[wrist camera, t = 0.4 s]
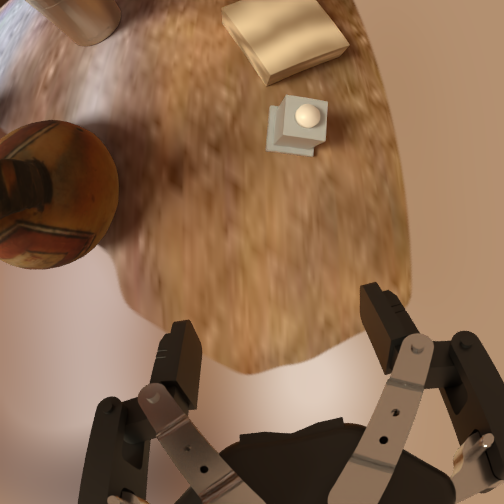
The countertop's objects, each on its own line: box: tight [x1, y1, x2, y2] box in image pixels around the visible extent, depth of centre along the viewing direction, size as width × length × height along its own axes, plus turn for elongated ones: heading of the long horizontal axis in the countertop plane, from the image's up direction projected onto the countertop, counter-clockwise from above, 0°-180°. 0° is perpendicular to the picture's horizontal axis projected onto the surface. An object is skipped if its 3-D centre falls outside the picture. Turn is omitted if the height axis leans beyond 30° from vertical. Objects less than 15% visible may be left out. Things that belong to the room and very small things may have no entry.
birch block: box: [222, 0, 350, 87], centre depth 33 cm, size 13×13×5 cm
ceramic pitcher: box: [0, 120, 119, 269], centre depth 24 cm, size 20×20×30 cm
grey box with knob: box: [266, 95, 328, 157], centre depth 34 cm, size 6×6×10 cm
